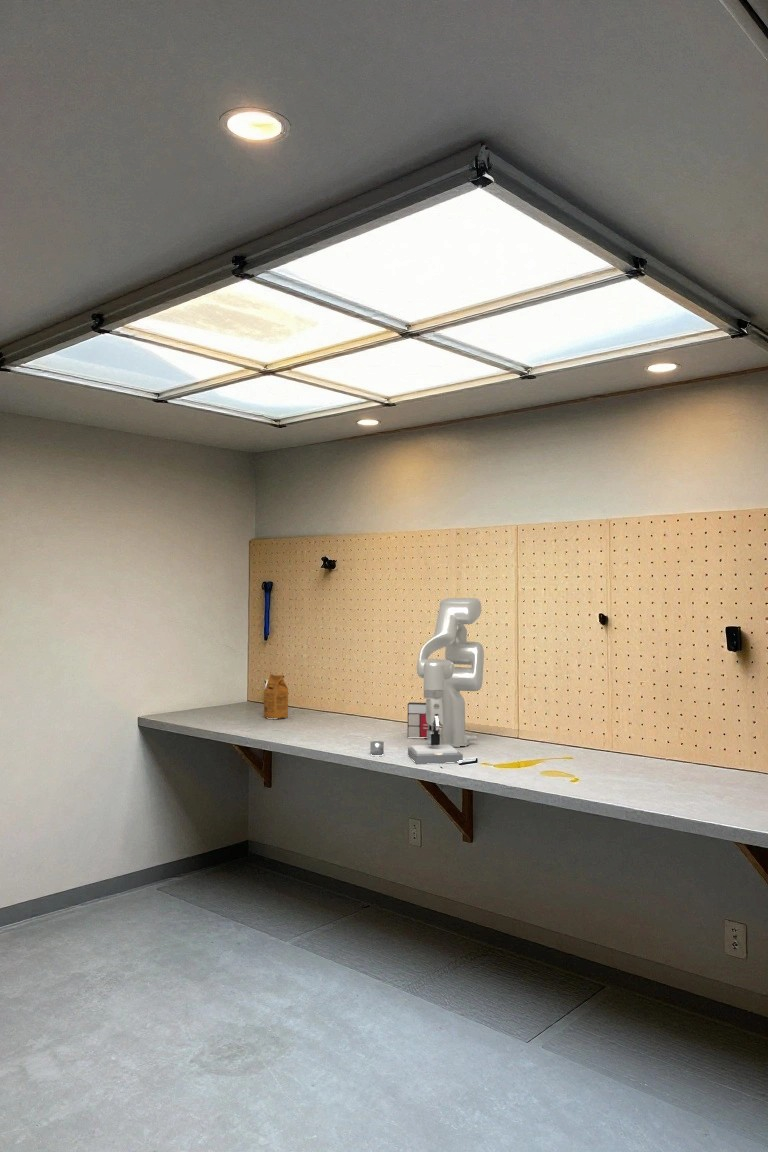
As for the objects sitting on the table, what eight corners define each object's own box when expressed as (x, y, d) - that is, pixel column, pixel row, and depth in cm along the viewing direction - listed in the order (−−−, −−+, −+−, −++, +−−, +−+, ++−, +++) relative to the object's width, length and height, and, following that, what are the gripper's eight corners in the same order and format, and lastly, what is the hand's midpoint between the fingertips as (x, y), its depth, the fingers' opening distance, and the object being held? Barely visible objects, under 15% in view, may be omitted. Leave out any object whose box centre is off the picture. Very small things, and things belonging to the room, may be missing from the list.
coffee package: (277, 716, 421) (277, 672, 421) (290, 718, 411) (290, 674, 412) (260, 717, 414) (260, 673, 415) (273, 720, 405) (273, 675, 405)
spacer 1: (382, 754, 315) (382, 740, 315) (384, 756, 310) (384, 743, 310) (369, 754, 314) (369, 741, 315) (371, 756, 310) (371, 743, 310)
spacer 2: (438, 743, 310) (438, 729, 310) (441, 745, 305) (441, 731, 305) (425, 743, 309) (425, 729, 309) (428, 745, 304) (428, 732, 304)
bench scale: (451, 754, 314) (451, 744, 314) (462, 763, 297) (462, 752, 298) (408, 755, 312) (408, 745, 312) (416, 764, 295) (416, 753, 295)
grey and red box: (407, 738, 350) (407, 703, 351) (408, 737, 355) (408, 702, 355) (432, 739, 348) (432, 704, 349) (434, 738, 353) (434, 702, 353)
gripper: (448, 696, 300) (448, 747, 299) (438, 691, 316) (438, 739, 316) (428, 697, 298) (428, 747, 298) (419, 692, 315) (419, 739, 315)
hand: (433, 742), depth 307 cm, fingers closed on spacer 2, 4 cm apart
